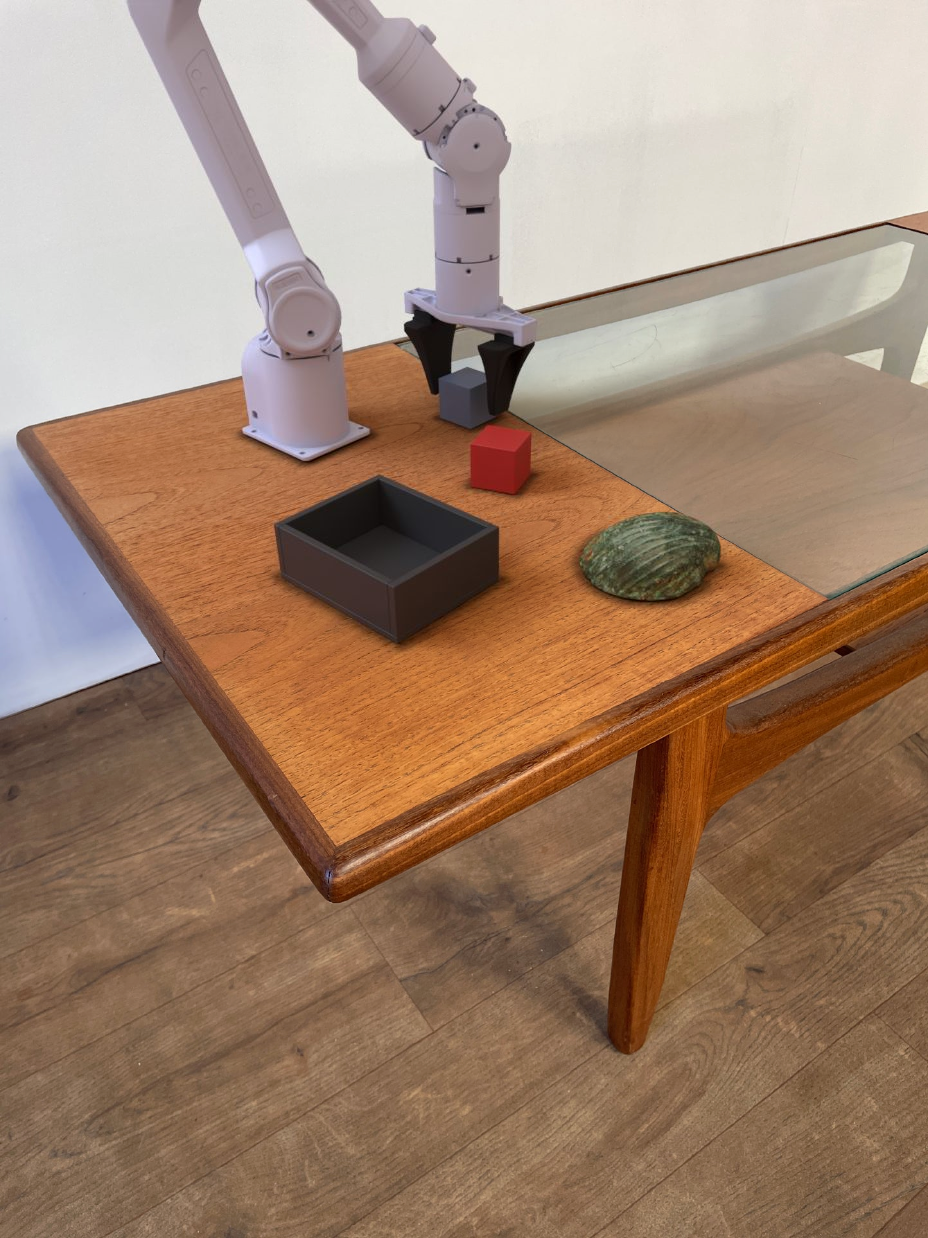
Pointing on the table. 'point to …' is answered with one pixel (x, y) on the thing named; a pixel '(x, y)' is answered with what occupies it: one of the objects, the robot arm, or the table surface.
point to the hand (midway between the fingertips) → (468, 401)
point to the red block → (500, 459)
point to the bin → (388, 555)
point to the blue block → (464, 398)
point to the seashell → (651, 556)
